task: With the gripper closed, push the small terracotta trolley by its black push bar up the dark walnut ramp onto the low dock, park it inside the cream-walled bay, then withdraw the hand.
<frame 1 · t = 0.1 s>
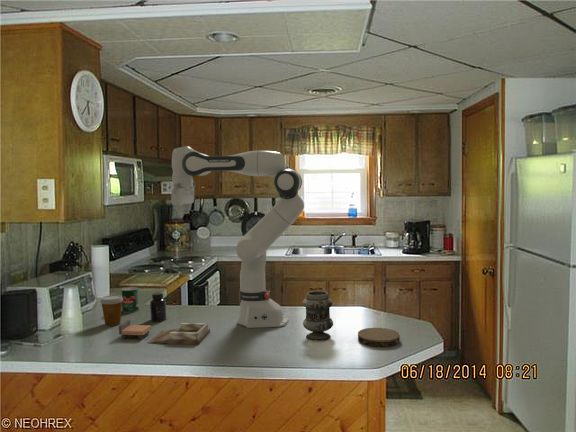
hand: (183, 214, 217), 48 cm above the countertop, tool pointing down, fingers open, 8 cm apart
apothecary jar: (318, 337, 194), on the countertop
brown round disc: (378, 341, 189), on the countertop
loading dock: (187, 337, 196), on the countertop
trolley: (135, 336, 198), on the countertop
canned tomato: (130, 311, 239), on the countertop
disposable coffee cup: (112, 324, 216), on the countertop
supplement bottle: (158, 320, 222), on the countertop
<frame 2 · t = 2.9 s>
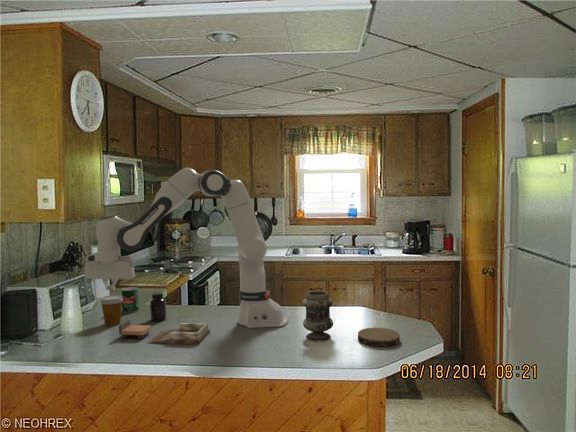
hand: (110, 289, 198), 19 cm above the countertop, tool pointing down, fingers closed
nothing on the countertop moved.
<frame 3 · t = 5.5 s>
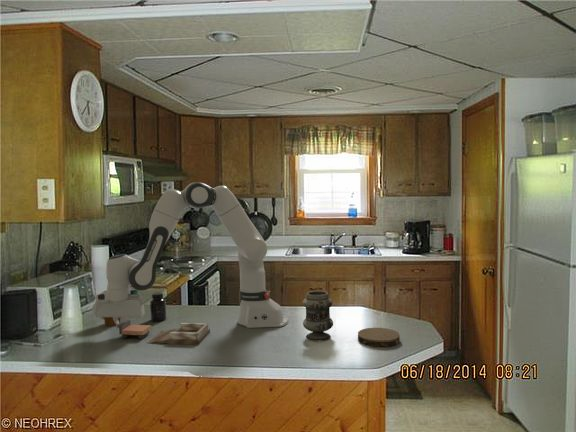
hand: (120, 327, 199), 3 cm above the countertop, tool pointing down, fingers closed
trolley: (135, 336, 198), on the countertop, touching gripper
everything else where it was.
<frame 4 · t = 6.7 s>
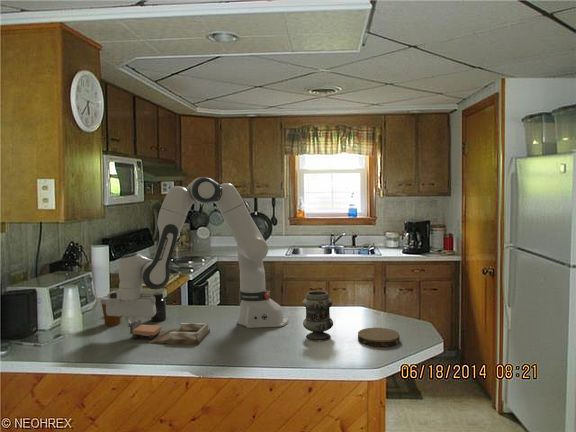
hand: (131, 326, 198), 4 cm above the countertop, tool pointing down, fingers closed
trolley: (146, 336, 198), on the countertop, touching gripper, loading dock
everything else where it was.
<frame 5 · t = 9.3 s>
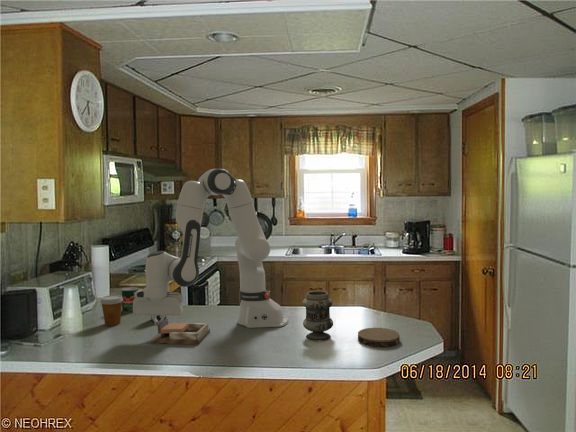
hand: (158, 325, 197), 5 cm above the countertop, tool pointing down, fingers closed
trolley: (174, 334, 196), point 1 cm above the countertop, touching gripper
everything else where it was.
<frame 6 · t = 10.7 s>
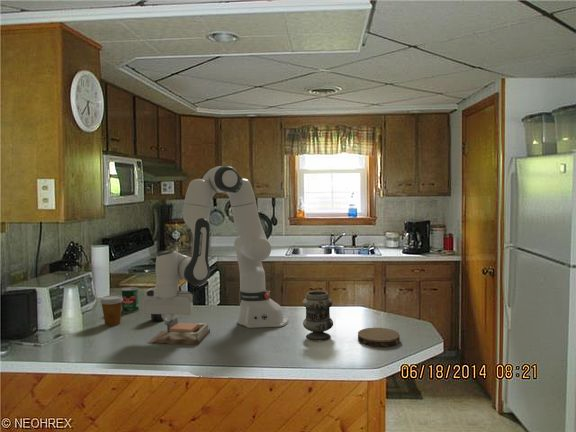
hand: (168, 324, 196), 5 cm above the countertop, tool pointing down, fingers closed
trolley: (183, 334, 195), point 2 cm above the countertop, touching gripper
everything else where it was.
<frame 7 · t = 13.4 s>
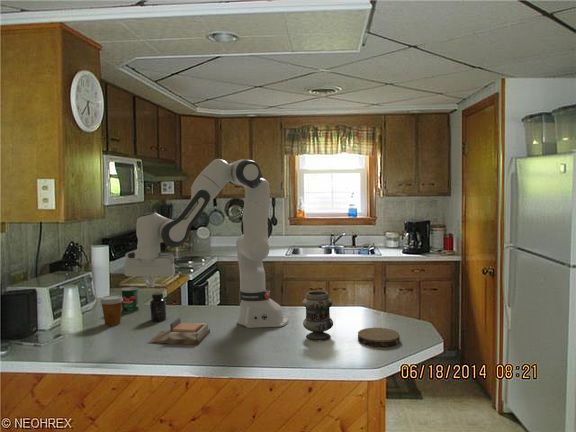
hand: (150, 287, 196), 20 cm above the countertop, tool pointing down, fingers closed
trolley: (186, 334, 195), point 1 cm above the countertop, touching loading dock
everything else where it was.
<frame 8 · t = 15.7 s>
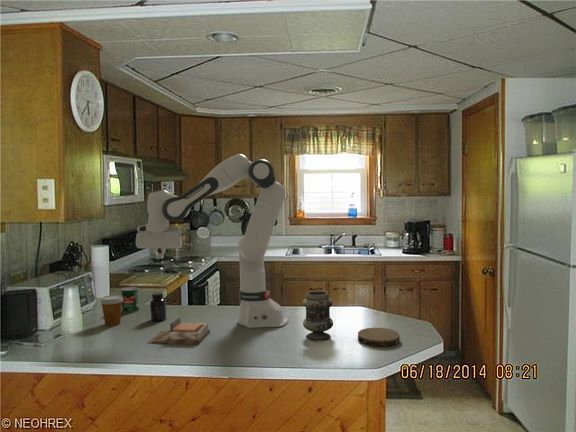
hand: (159, 258, 213), 29 cm above the countertop, tool pointing down, fingers closed
nothing on the countertop moved.
at the end: trolley 0.9 cm from the target spot, point 1.5 cm above the countertop; trolley tilted 0° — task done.
